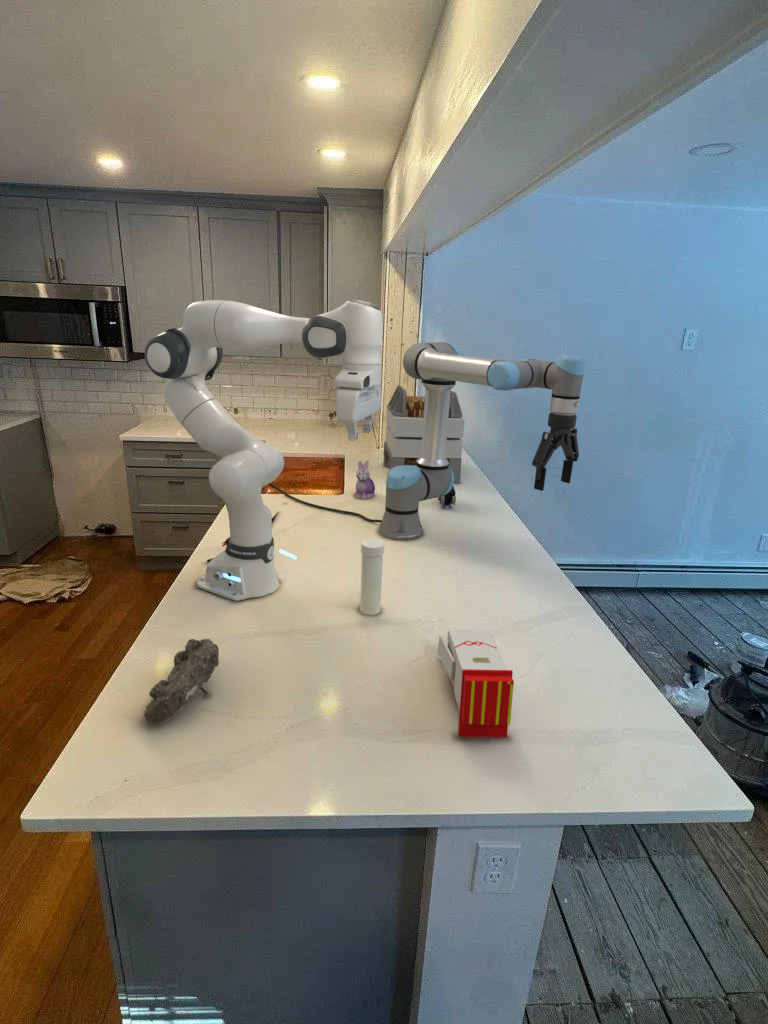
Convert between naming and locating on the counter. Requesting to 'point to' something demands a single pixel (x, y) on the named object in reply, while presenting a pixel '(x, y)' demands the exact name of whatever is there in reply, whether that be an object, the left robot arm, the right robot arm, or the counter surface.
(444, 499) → the figurine character
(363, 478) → the figurine
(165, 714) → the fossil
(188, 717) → the counter surface
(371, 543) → the white cylinder
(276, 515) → the feather
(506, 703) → the toy
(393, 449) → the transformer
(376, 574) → the jar
